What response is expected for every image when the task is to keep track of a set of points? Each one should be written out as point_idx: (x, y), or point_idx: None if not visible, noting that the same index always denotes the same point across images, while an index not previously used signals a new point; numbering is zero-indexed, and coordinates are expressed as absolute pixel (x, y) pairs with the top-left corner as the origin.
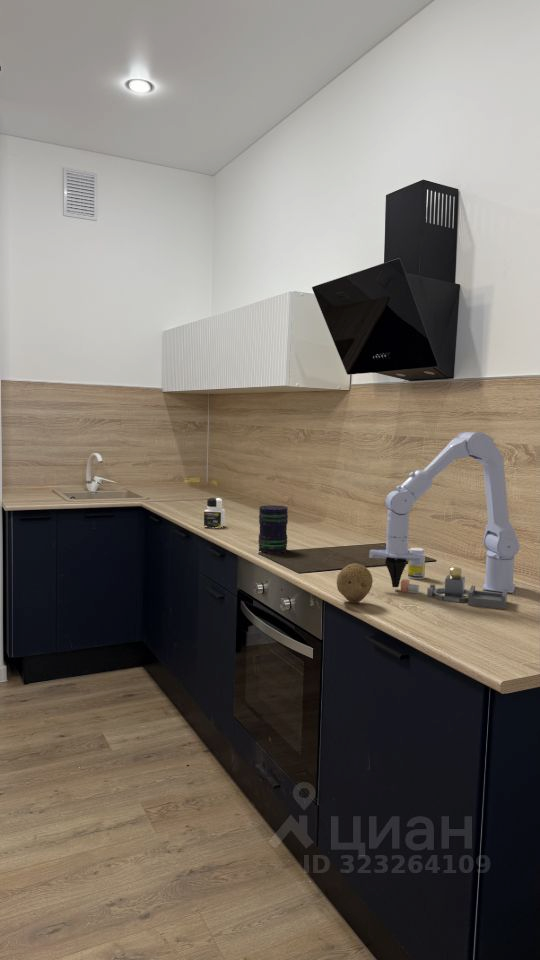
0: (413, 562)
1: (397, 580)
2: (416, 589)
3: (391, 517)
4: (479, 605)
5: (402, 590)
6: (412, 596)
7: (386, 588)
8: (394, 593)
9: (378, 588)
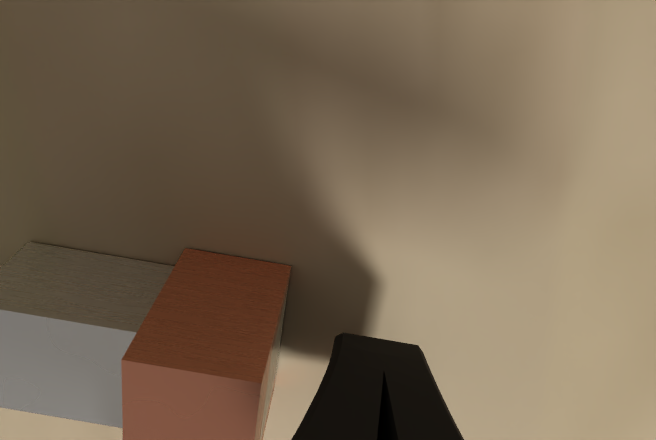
0: None
1: (329, 404)
2: (19, 278)
3: None
4: None
5: (254, 274)
6: (56, 34)
7: (503, 397)
8: (381, 152)
9: (628, 375)
